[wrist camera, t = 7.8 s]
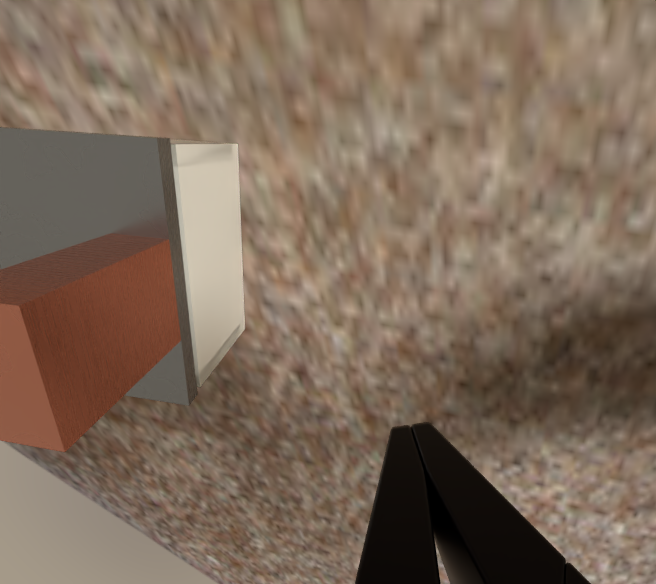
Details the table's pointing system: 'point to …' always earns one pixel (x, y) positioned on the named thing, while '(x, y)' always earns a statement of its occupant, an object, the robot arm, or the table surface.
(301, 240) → the table surface
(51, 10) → the table surface
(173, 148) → the cream open box
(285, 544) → the table surface
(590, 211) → the table surface
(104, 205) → the lid
